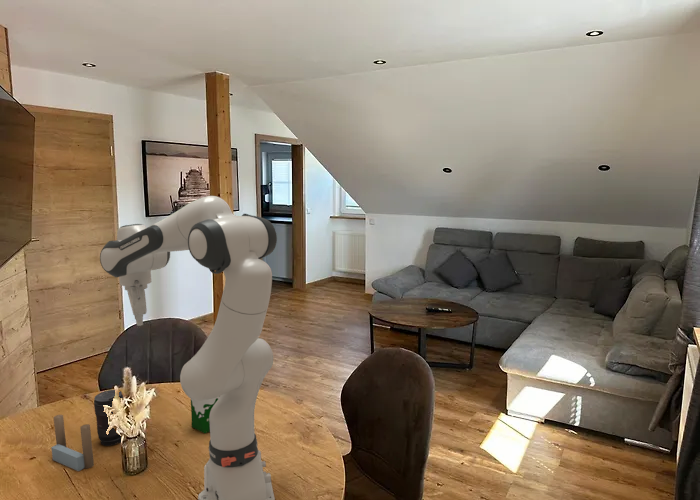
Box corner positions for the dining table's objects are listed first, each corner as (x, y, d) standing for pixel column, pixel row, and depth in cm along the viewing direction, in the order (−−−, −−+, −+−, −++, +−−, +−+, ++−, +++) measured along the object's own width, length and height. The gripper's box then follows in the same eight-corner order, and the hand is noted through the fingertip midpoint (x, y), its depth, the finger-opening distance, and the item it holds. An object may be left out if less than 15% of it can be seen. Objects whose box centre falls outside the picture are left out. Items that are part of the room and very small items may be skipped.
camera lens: (92, 443, 152) (87, 397, 150) (115, 431, 159) (111, 387, 157) (109, 450, 148) (105, 403, 146) (132, 437, 156) (128, 392, 153)
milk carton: (209, 417, 168) (206, 360, 165) (227, 424, 163) (224, 367, 160) (187, 427, 161) (183, 369, 158) (204, 436, 156) (201, 376, 153)
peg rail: (63, 451, 148) (59, 414, 146) (95, 464, 141) (91, 425, 139) (49, 458, 144) (45, 420, 142) (81, 472, 137) (77, 432, 135)
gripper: (149, 283, 141) (153, 329, 143) (143, 270, 159) (147, 312, 161) (125, 285, 138) (129, 333, 140) (122, 272, 156) (125, 315, 158)
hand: (138, 322), depth 151 cm, fingers open, 5 cm apart
